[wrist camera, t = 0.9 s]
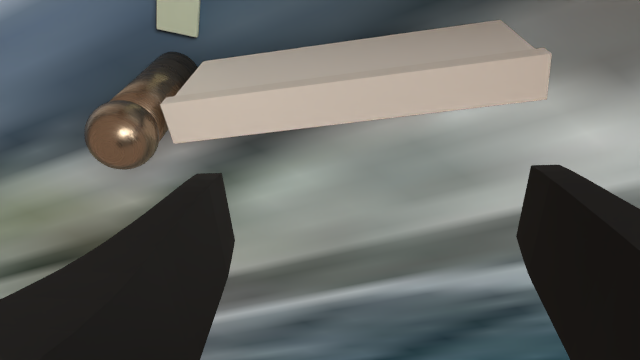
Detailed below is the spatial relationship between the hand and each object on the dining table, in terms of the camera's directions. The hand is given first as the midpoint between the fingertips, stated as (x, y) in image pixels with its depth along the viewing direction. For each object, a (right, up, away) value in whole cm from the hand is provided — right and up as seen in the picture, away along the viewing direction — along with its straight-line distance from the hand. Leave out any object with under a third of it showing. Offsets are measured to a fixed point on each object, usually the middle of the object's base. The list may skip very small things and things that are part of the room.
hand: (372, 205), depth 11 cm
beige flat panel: (0, +5, +7) cm, 9 cm away
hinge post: (-7, +5, +8) cm, 12 cm away
